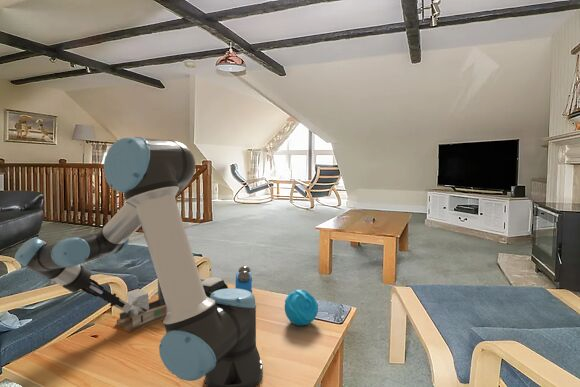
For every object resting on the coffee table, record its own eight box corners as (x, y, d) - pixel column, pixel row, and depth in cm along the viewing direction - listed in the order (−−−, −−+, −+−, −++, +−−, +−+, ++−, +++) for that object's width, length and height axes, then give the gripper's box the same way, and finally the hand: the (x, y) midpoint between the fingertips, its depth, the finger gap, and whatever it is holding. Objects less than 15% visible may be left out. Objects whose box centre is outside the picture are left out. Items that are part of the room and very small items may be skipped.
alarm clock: (237, 299, 137) (236, 263, 135) (252, 298, 138) (251, 263, 136) (235, 313, 124) (235, 274, 123) (252, 312, 125) (251, 274, 123)
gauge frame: (182, 311, 126) (181, 282, 125) (130, 332, 110) (129, 299, 109) (168, 304, 132) (166, 276, 131) (116, 323, 116) (115, 292, 115)
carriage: (152, 319, 116) (150, 294, 115) (141, 323, 112) (139, 298, 112) (139, 312, 121) (138, 288, 120) (128, 316, 118) (127, 292, 117)
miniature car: (184, 306, 131) (183, 286, 130) (214, 290, 146) (214, 273, 146) (201, 311, 126) (200, 291, 126) (230, 294, 142) (230, 276, 142)
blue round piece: (296, 335, 108) (296, 301, 107) (277, 321, 118) (277, 290, 116) (323, 324, 115) (324, 292, 114) (303, 312, 125) (303, 282, 123)
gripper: (53, 281, 102) (112, 313, 117) (70, 291, 94) (130, 324, 109) (72, 260, 106) (126, 294, 120) (89, 268, 98) (145, 304, 112)
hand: (128, 309), depth 115 cm, fingers closed
